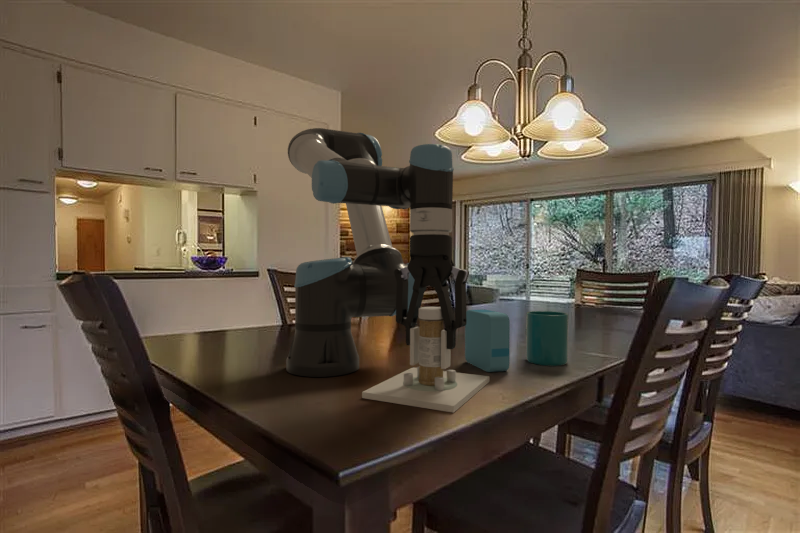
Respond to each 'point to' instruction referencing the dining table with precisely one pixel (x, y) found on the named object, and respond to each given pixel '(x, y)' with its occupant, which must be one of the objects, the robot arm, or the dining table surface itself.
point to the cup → (547, 338)
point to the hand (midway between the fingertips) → (430, 365)
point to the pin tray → (428, 390)
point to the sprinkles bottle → (430, 344)
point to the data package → (487, 340)
